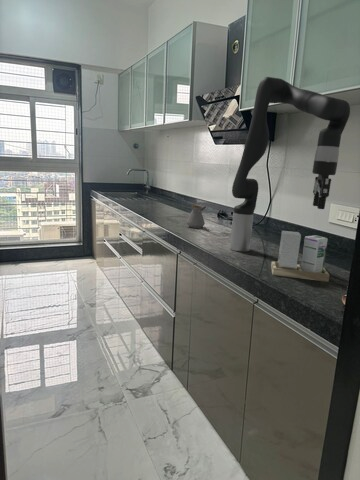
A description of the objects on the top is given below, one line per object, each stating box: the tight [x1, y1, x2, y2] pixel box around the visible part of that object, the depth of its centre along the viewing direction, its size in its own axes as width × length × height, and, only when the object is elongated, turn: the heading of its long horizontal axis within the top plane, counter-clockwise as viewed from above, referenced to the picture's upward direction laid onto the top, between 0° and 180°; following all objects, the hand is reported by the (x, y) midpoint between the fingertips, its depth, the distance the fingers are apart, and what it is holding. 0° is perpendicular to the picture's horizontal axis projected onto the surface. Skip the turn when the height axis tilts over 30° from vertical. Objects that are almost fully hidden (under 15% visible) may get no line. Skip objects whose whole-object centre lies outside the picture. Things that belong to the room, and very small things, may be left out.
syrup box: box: [301, 235, 328, 273], centre depth 127 cm, size 6×6×14 cm
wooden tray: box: [270, 260, 330, 282], centre depth 129 cm, size 10×19×4 cm, turn 79°
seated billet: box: [277, 230, 302, 270], centre depth 129 cm, size 6×6×15 cm
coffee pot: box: [185, 205, 208, 229], centre depth 212 cm, size 21×12×15 cm, turn 16°
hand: (318, 207), depth 125 cm, fingers open, 8 cm apart
